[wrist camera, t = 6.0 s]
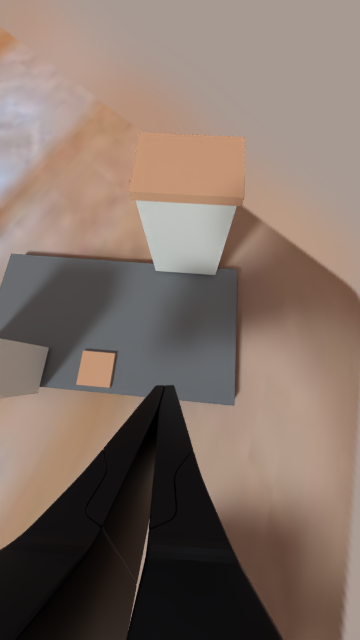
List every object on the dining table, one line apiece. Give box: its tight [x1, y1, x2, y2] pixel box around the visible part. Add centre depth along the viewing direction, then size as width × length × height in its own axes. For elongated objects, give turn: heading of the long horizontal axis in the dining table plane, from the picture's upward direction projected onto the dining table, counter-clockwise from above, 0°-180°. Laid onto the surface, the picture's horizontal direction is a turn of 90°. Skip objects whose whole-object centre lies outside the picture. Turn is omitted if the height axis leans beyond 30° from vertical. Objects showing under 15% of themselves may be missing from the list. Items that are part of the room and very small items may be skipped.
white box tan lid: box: [128, 133, 245, 275], centre depth 17 cm, size 4×6×10 cm
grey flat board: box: [0, 254, 238, 406], centre depth 20 cm, size 13×24×2 cm, turn 85°
